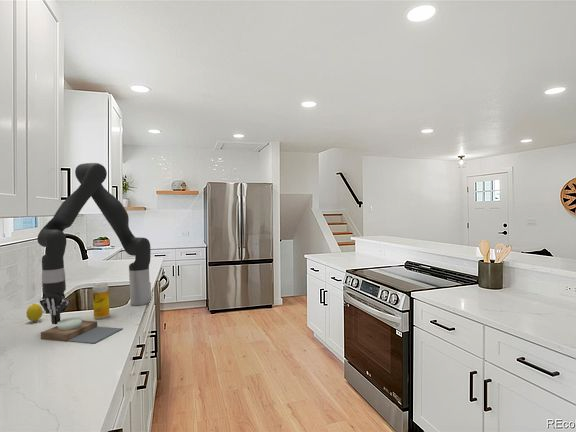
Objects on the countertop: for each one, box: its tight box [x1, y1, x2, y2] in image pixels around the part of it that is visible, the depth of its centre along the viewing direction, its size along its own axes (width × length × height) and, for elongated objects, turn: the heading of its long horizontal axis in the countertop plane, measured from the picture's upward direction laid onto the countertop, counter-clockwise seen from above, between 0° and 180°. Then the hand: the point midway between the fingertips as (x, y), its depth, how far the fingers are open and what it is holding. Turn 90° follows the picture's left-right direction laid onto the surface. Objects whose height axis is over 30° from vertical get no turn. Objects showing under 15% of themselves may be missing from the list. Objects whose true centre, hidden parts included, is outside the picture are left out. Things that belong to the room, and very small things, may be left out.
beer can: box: [92, 281, 110, 320], centre depth 147 cm, size 6×6×15 cm
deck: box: [40, 319, 98, 342], centre depth 129 cm, size 14×12×2 cm
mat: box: [67, 326, 124, 345], centre depth 127 cm, size 14×12×1 cm
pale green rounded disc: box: [56, 316, 83, 330], centre depth 129 cm, size 8×8×2 cm
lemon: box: [26, 303, 44, 323], centre depth 143 cm, size 6×6×8 cm
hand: (55, 323), depth 131 cm, fingers closed
